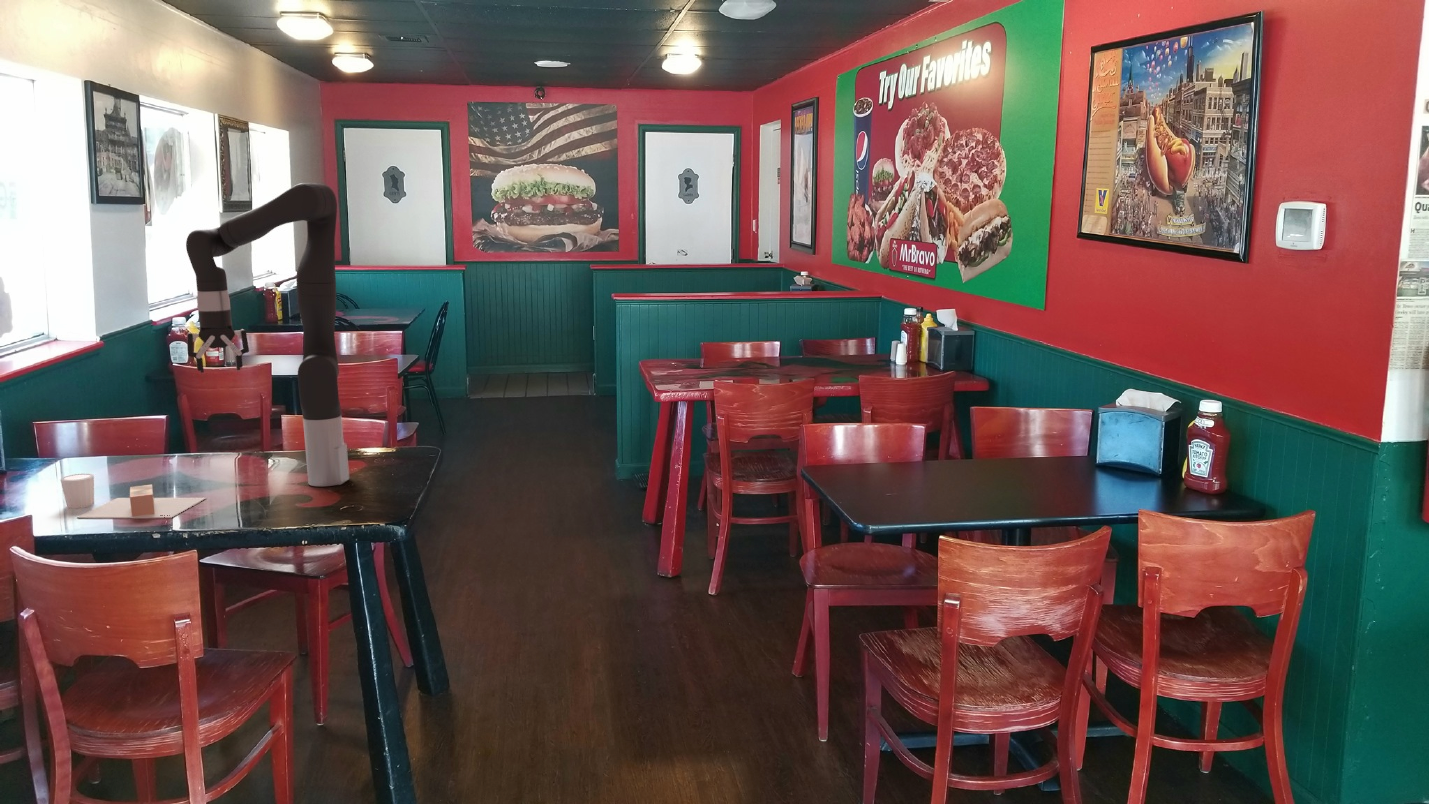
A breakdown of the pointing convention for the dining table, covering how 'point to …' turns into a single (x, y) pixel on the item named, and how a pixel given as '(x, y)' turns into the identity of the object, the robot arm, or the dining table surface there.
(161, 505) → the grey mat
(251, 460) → the dining table surface
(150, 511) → the birch block
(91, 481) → the beige tapered cup
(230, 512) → the dining table surface
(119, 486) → the dining table surface
